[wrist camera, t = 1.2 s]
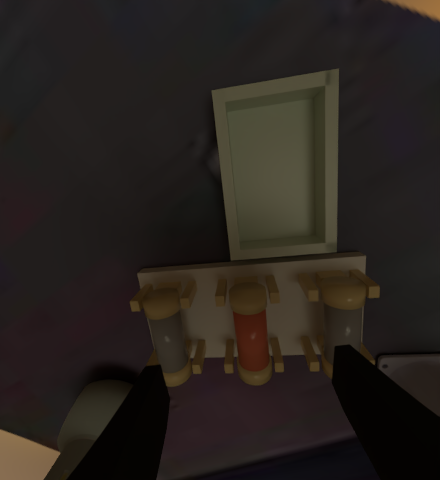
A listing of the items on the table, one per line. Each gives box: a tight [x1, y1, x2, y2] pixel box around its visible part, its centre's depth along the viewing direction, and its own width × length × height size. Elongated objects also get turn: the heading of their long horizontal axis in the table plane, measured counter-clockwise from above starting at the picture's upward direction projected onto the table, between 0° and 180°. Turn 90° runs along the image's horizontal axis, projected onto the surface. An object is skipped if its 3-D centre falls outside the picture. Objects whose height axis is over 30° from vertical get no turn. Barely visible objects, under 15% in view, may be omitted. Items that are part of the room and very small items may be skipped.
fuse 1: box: [142, 288, 192, 387], centre depth 19 cm, size 8×3×3 cm, turn 7°
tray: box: [212, 69, 339, 261], centre depth 18 cm, size 12×8×3 cm, turn 7°
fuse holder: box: [130, 251, 380, 374], centre depth 20 cm, size 10×20×4 cm, turn 97°
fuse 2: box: [321, 276, 366, 379], centre depth 18 cm, size 8×3×3 cm, turn 7°
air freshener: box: [44, 379, 133, 480], centre depth 23 cm, size 11×8×10 cm
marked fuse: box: [229, 282, 272, 385], centre depth 19 cm, size 8×3×3 cm, turn 7°
